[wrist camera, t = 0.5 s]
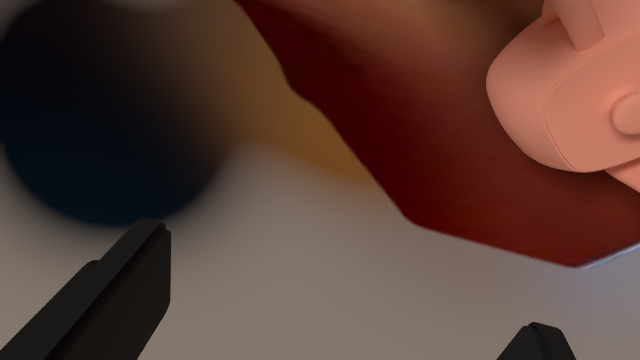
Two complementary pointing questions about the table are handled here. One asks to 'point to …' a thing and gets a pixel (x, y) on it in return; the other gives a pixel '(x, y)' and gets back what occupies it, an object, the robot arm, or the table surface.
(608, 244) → the table surface
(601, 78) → the teapot
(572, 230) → the table surface
